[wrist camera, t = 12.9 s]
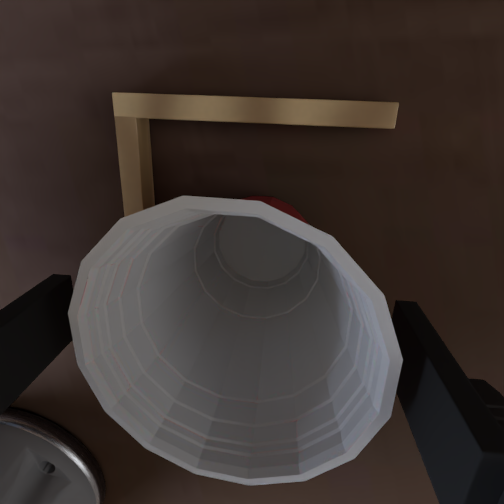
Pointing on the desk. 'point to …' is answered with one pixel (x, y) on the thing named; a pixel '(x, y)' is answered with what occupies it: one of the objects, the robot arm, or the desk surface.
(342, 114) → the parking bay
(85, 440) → the desk surface
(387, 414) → the plastic cup
